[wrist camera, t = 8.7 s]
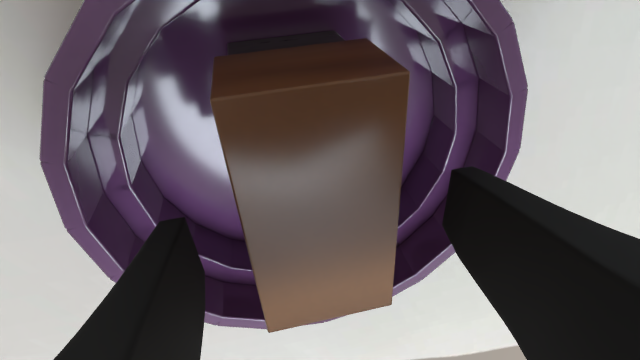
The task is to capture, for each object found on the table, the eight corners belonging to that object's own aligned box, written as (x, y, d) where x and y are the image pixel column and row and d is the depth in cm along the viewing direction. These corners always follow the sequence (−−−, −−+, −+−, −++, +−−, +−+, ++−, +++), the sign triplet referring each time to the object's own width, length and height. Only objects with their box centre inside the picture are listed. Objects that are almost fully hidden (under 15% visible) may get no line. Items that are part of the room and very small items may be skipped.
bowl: (520, 94, 16) (595, 136, 13) (312, 290, 20) (328, 359, 17) (249, -244, 9) (262, -344, 6) (19, 171, 13) (-48, 249, 10)
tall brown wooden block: (215, 34, 12) (208, 99, 7) (343, 19, 12) (411, 71, 8) (256, 222, 16) (268, 333, 12) (347, 205, 17) (392, 305, 12)
